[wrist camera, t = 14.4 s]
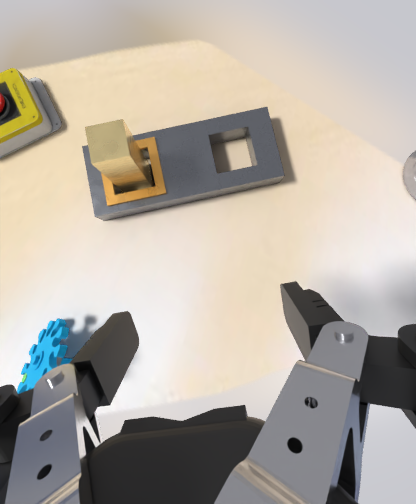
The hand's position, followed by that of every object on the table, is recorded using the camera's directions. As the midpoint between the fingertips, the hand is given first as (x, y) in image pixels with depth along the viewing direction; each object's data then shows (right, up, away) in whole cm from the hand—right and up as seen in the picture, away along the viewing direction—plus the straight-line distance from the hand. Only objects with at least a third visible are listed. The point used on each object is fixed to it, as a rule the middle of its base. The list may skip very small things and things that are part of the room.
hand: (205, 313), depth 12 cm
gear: (-20, -11, +20) cm, 31 cm away
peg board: (-3, +15, +22) cm, 27 cm away
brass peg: (-10, +14, +21) cm, 27 cm away
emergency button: (-30, +23, +23) cm, 44 cm away
